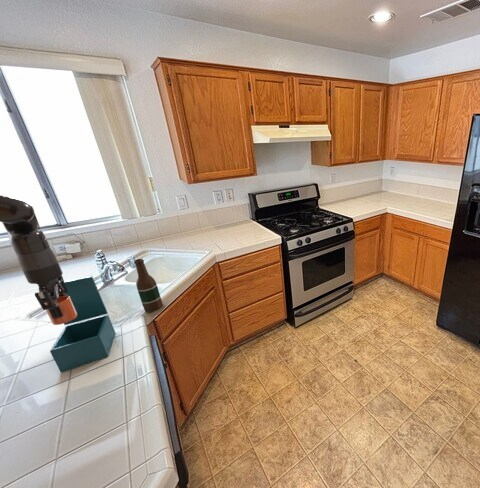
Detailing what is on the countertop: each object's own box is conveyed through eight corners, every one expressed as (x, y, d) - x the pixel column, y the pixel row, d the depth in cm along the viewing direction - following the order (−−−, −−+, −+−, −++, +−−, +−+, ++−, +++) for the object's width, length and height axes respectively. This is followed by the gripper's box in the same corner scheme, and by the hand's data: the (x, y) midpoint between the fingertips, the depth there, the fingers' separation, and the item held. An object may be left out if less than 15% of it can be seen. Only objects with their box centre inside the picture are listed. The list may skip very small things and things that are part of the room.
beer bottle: (167, 304, 123) (152, 257, 115) (150, 313, 116) (134, 264, 108) (156, 301, 126) (142, 255, 118) (140, 310, 119) (123, 262, 112)
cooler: (108, 356, 91) (99, 336, 89) (60, 372, 86) (49, 351, 83) (115, 333, 104) (108, 314, 101) (74, 345, 99) (65, 325, 96)
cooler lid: (91, 276, 95) (94, 270, 99) (44, 286, 89) (49, 279, 93) (107, 313, 101) (109, 306, 105) (64, 325, 95) (68, 317, 100)
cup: (49, 327, 81) (39, 307, 79) (56, 317, 86) (47, 299, 84) (74, 320, 84) (66, 301, 81) (79, 311, 89) (72, 293, 86)
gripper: (47, 269, 74) (70, 319, 80) (64, 254, 86) (83, 299, 92) (10, 276, 71) (36, 328, 76) (33, 260, 83) (54, 306, 88)
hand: (62, 312), depth 84 cm, fingers closed on cup, 6 cm apart
